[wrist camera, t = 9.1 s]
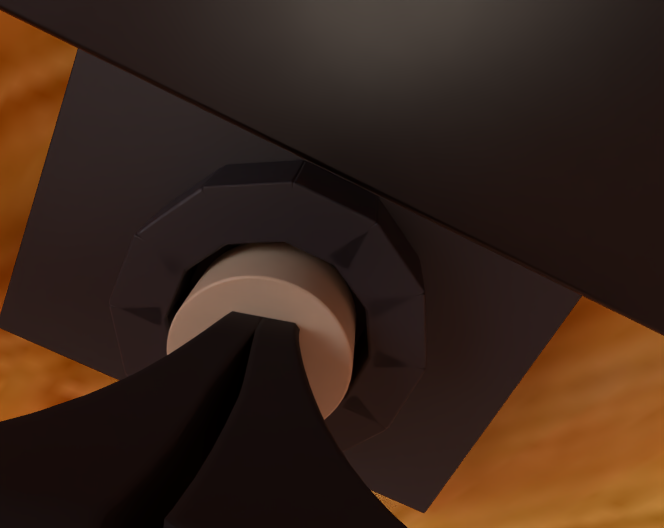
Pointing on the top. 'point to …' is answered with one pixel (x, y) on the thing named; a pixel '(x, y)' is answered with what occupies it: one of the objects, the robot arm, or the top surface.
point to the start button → (280, 308)
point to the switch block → (260, 227)
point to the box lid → (436, 112)
